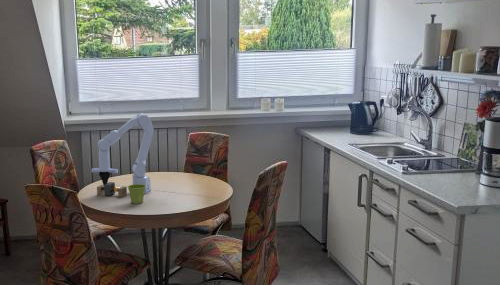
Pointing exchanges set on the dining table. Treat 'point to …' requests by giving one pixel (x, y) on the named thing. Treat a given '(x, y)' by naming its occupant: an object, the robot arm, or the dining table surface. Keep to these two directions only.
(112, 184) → the gray square nut
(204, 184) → the dining table surface
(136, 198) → the plant pot
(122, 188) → the brown dumbbell
